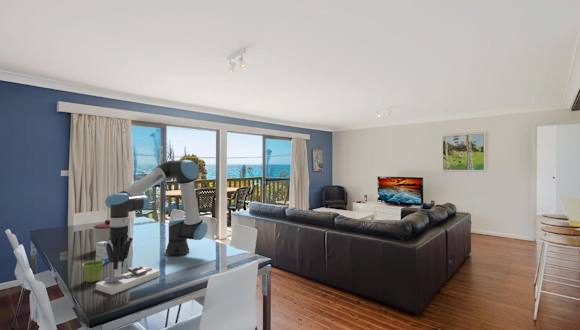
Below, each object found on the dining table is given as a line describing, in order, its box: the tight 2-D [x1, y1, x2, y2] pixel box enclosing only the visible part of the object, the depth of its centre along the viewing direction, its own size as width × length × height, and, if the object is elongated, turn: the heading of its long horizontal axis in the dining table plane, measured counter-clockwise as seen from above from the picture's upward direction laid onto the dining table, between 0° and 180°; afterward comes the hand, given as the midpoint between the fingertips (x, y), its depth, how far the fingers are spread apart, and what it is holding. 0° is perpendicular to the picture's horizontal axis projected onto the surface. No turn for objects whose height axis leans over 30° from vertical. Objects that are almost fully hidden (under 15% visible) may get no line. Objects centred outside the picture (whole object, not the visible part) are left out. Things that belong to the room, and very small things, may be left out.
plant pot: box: [81, 260, 105, 283], centre depth 146 cm, size 9×9×9 cm
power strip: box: [95, 266, 161, 296], centre depth 144 cm, size 12×26×3 cm, turn 154°
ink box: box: [95, 241, 113, 264], centre depth 175 cm, size 9×5×12 cm, turn 71°
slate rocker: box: [103, 274, 125, 283], centre depth 137 cm, size 8×5×3 cm, turn 64°
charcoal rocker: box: [127, 264, 147, 276], centre depth 148 cm, size 8×5×3 cm, turn 64°
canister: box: [91, 219, 111, 249], centre depth 199 cm, size 18×18×21 cm
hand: (117, 275), depth 136 cm, fingers closed
